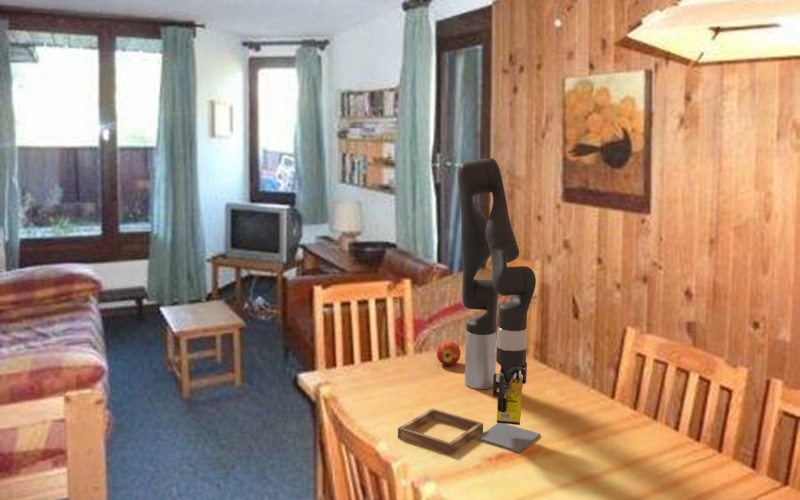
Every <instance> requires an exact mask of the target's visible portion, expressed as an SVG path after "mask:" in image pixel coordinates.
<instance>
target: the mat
mask: <svg viewBox="0 0 800 500" xmlns="http://www.w3.org/2000/svg"><path fill="white" fill-rule="evenodd" d="M539 437H541V433H538V432H535V431H532V430H528V429H526V428H523V427H517V426H516V425H512V424H503V423H497V422H496V424H494V425H493V426H491V427H490V428H489V429H488V430H486V431H483V432H482V433H481V434H480V435H478V436H477V437H476V440H477V441H479V442H481V443H486V444H488V445H489V444H490V445H492V446H495V447H499V448H502V449H506V450H509V451H512V452H515V453H518V454H519V453H521V452H523V451H524V450H525V449H526V448H527V447H529V446H530V445H531V444H532V443H533V442H535V441H536V440H537V439H538V438H539Z"/></svg>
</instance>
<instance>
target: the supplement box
mask: <svg viewBox="0 0 800 500" xmlns="http://www.w3.org/2000/svg"><path fill="white" fill-rule="evenodd" d="M522 378H523V377H522ZM522 378H520V379H518V378H517V379H515V380H514V381H513V383H512V388H511V390H510V391H508V395H507V410H506V412H504V413H503V412H500V411H498V410H497V409H496V410H497V411H496V424H497V423H503V424H508V425H512V426H520V425H521V418H522V417H521V416H522V414H521V413H522V399H523V398H522V396H523V395H522V394H523V388H522ZM508 384H509V383H506V382H504V385H506V386H507V385H508ZM504 392H505V389H504ZM496 406H498V400H497V404H496Z"/></svg>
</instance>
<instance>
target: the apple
mask: <svg viewBox="0 0 800 500" xmlns="http://www.w3.org/2000/svg"><path fill="white" fill-rule="evenodd" d="M436 357H437V360H438V362H440V363H441V364H442V365H445V366H453V365H455V364H457V362H459V360H460V358H461V349H460V346H459V345H458V344H457V343H456V342H454V341H451V340H447V341H444V342H442V343H441V344H440V345H439V346H438V347H437V350H436Z"/></svg>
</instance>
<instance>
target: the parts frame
mask: <svg viewBox="0 0 800 500" xmlns="http://www.w3.org/2000/svg"><path fill="white" fill-rule="evenodd" d="M433 420H435V421H438V422H441V423H445V424H448V425H452V426H455V427H458V428H461V429H465V430H466V431H465V432H463V433H461V434H460V435H459V436H458V437H456V438H455V439H453V440H451V441H450V442H449V441H446V440H442V439H440V438H436V437H433V436H430V435H428V434H427V435H426V434H424V433H422V432H421V433H420V432H417V431H415V430H418V429H420V428H421V427H422V426H424V425H426V424H427V423H429V422H431V421H433ZM483 433H484V422H481V421H477V420H474V419H471V418H467V417H464V416H459V415H456V414H452V413H450V412H446V411H442V410H438V409H436V408H430V409H429V410H427V411H425V412H424V413H422V414H420V415H418V416H417V417H415V418H413V419H411V420H410V421H408V422H406V423H404V424H403V425H401V426H399V427H397V438H398V439H401V440H405V441H408V442H410V443H411V442H412V443H414V444H417V445H420V446H423V447H426V448H430V449H432V450H435V451H438V452H441V453H444V454H446V455H447V454H448V455H452V454H454V453H455V452H457V451H458V450H460V449H461V448H463V447H464V446H466V445H467V444H468V443H470V442H471V441H472V440H474V439H475V438H477V437H479V436H480V435H481V434H483Z"/></svg>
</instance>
